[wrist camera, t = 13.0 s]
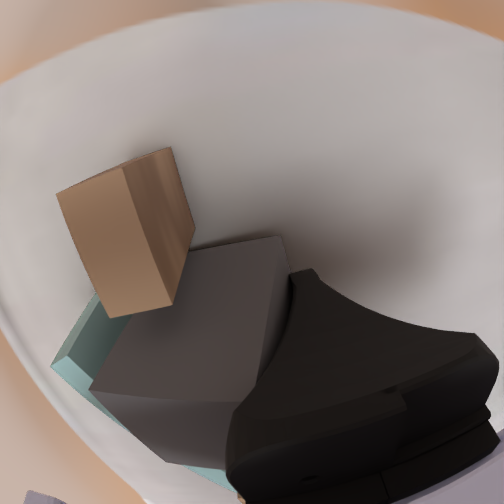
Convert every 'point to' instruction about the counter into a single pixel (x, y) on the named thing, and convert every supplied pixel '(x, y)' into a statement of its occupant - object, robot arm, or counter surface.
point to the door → (93, 356)
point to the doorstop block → (199, 351)
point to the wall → (132, 232)
